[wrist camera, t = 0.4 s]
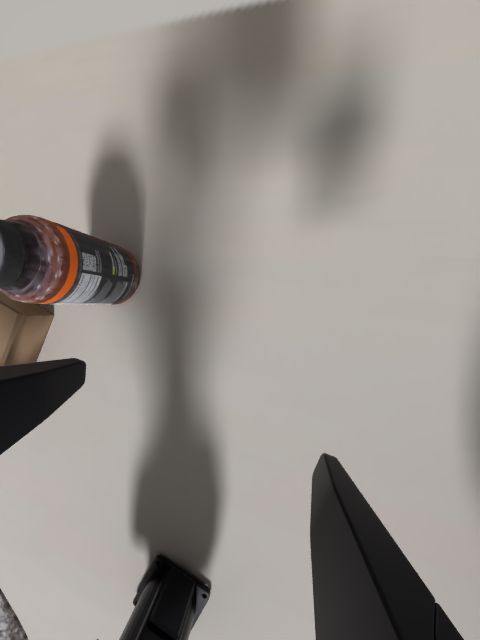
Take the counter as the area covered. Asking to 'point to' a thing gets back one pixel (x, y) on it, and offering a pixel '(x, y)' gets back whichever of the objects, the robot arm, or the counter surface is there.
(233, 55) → the counter surface
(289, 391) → the counter surface
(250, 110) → the counter surface
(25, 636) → the platter
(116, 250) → the supplement bottle
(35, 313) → the walnut stand
